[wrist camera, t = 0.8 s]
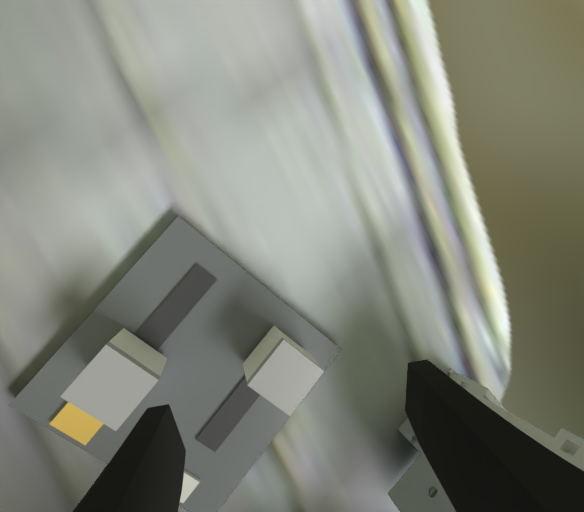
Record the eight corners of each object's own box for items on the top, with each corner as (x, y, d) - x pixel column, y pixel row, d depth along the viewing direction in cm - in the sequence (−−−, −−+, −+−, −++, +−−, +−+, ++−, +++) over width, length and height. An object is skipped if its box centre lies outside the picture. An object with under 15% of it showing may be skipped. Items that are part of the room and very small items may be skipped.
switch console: (208, 513, 27) (208, 526, 26) (17, 398, 24) (5, 407, 22) (337, 345, 30) (342, 350, 28) (179, 216, 26) (177, 215, 25)
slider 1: (131, 400, 24) (115, 431, 20) (86, 371, 23) (60, 396, 19) (167, 358, 25) (158, 380, 21) (123, 327, 24) (106, 344, 20)
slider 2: (279, 391, 27) (290, 416, 23) (242, 364, 26) (247, 385, 22) (308, 352, 27) (324, 371, 23) (273, 325, 26) (283, 339, 23)
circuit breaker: (355, 477, 31) (482, 691, 16) (450, 368, 33) (640, 470, 18) (401, 521, 32) (557, 755, 17) (490, 414, 34) (695, 544, 19)
